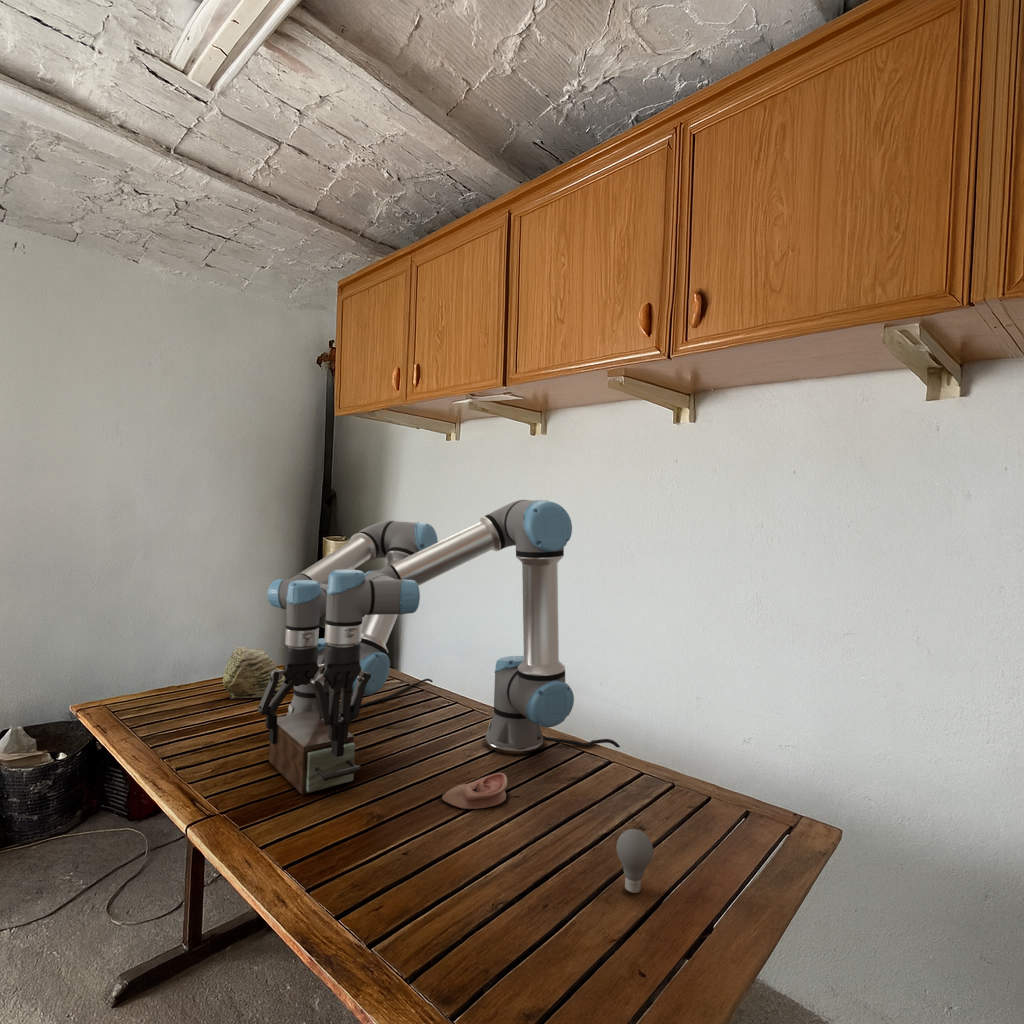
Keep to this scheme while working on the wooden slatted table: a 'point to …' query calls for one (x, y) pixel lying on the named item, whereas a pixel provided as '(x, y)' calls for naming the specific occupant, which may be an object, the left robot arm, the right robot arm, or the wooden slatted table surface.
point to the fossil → (249, 673)
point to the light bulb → (634, 857)
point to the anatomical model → (478, 792)
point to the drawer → (330, 767)
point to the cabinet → (299, 745)
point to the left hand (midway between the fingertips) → (298, 736)
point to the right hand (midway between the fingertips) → (337, 754)
